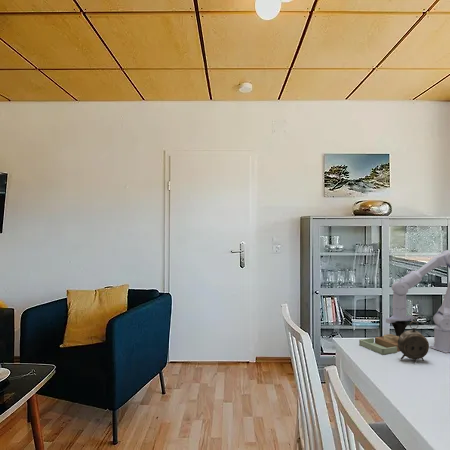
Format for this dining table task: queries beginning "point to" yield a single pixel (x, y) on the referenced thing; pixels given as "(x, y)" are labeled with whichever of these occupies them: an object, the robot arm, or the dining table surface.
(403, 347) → the alarm clock
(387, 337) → the maple tile
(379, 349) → the sage tray
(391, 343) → the walnut board
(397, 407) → the dining table surface
